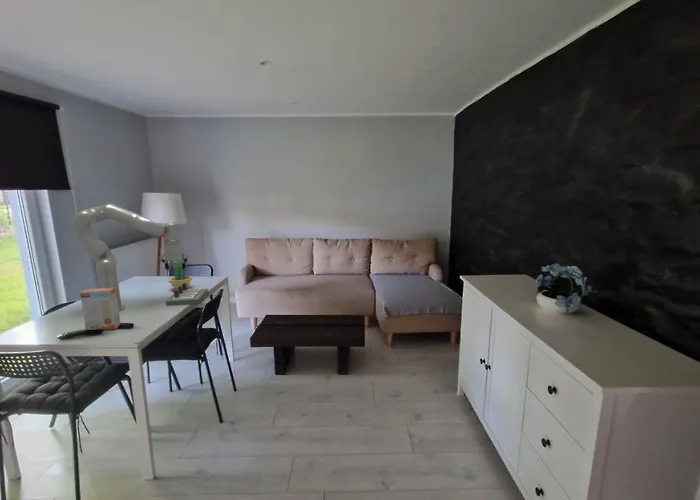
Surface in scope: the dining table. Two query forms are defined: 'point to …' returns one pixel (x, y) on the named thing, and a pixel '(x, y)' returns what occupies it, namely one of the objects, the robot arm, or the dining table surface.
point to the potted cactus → (179, 275)
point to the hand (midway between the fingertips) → (175, 269)
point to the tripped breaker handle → (180, 289)
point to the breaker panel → (187, 296)
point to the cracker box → (100, 308)
